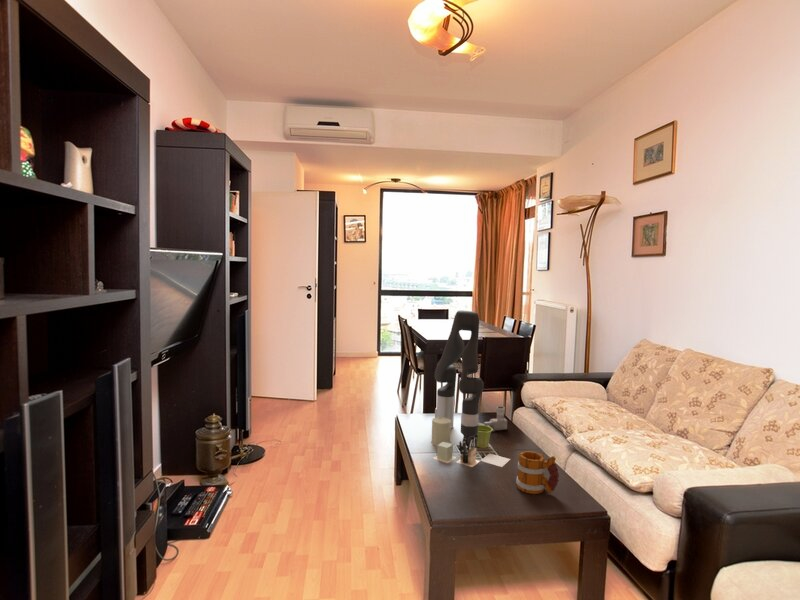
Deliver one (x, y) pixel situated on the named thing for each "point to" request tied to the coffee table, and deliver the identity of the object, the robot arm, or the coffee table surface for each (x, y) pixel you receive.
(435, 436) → the can
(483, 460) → the felt pad
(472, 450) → the beech block
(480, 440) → the plant pot
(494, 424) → the camera
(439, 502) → the coffee table surface
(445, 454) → the sage block
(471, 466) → the code tile
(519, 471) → the mug
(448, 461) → the code tile
